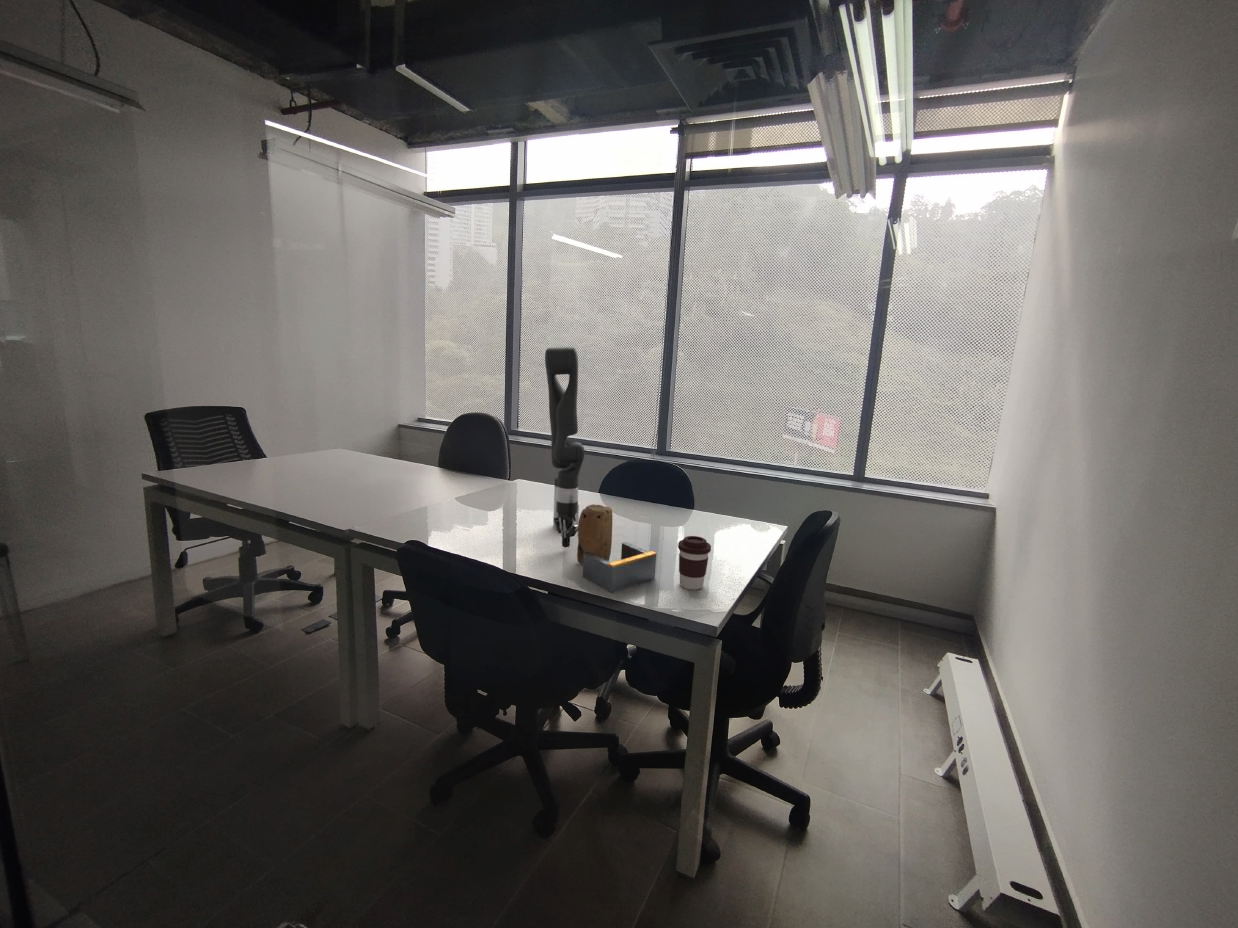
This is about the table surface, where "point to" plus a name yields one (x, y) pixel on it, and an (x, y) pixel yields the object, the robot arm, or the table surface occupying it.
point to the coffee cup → (693, 561)
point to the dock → (620, 568)
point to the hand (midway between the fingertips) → (565, 546)
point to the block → (595, 532)
